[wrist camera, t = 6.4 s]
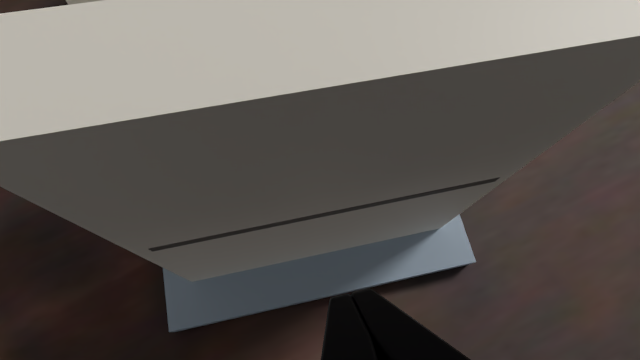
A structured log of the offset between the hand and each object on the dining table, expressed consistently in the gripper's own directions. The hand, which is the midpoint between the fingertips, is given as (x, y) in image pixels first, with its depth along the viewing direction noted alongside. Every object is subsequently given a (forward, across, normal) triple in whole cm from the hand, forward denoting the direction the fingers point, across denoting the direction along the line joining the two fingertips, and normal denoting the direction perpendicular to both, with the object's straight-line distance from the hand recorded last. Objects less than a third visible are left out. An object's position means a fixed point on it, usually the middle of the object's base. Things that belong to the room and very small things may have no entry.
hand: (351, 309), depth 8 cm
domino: (+8, 0, +3) cm, 8 cm away
